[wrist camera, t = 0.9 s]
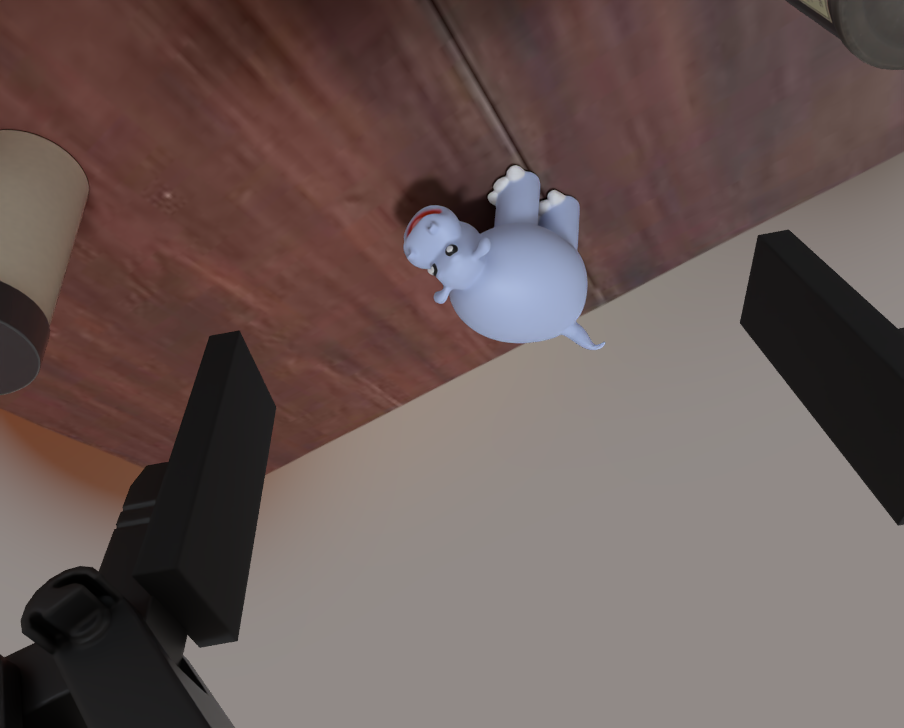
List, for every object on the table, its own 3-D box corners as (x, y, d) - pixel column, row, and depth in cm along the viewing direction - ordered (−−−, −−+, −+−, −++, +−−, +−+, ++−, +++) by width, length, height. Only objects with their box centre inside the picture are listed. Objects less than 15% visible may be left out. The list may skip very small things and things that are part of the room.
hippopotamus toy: (448, 121, 38) (483, 214, 32) (606, 215, 46) (656, 302, 40) (362, 244, 44) (378, 342, 38) (515, 307, 52) (548, 396, 46)
